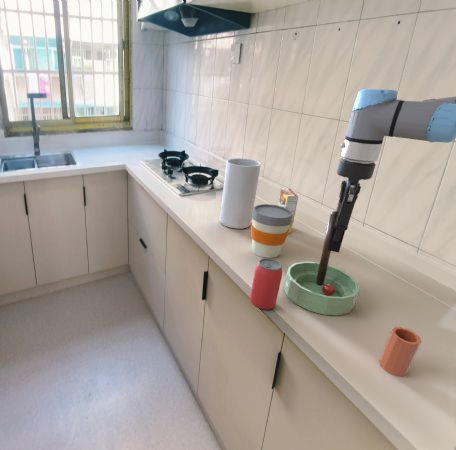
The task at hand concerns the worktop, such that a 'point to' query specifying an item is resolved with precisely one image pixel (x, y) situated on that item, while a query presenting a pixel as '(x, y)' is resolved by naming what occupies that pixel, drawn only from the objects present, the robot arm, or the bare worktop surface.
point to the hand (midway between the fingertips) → (333, 248)
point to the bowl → (320, 289)
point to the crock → (399, 351)
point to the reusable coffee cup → (269, 229)
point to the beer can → (266, 284)
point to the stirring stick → (325, 252)
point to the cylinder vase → (239, 192)
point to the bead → (328, 289)
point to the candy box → (288, 202)
